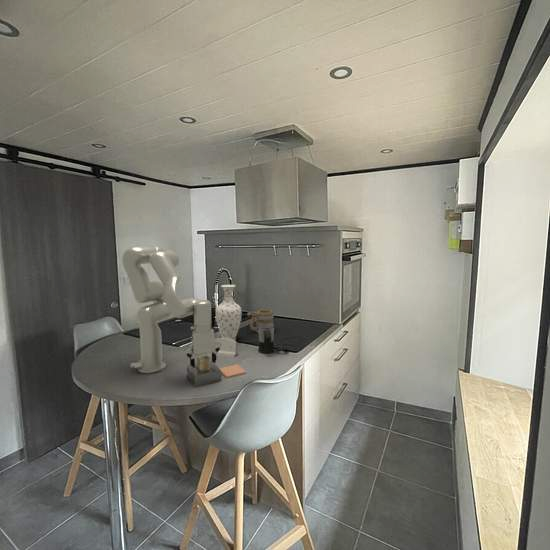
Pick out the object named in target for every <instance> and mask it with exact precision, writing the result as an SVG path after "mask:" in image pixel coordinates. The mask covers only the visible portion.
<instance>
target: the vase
mask: <svg viewBox="0 0 550 550" xmlns="http://www.w3.org/2000/svg"><path fill="white" fill-rule="evenodd" d="M220 287H221V288H222V289H223V293H224V295H223V301H222V302H221V303H220V304H219V305H217V306H216V308H215V320H216V321H215V322H216V325H217V327H218V331H219V334H220V336H221V337H220V338H229V339H232V340H235V341H236V339H237V335H238V332H239V329H240V325H241V322H242V307H241V306H240V304H238V303H236V302H235V300H234V297H233V296H234V295H233V293H234V288H235V287H236V285H235V284H222V285H221V286H220Z"/></svg>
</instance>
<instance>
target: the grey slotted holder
mask: <svg viewBox="0 0 550 550" xmlns="http://www.w3.org/2000/svg"><path fill="white" fill-rule="evenodd" d="M186 377H187V379H188V378H189V379H188V381H189V382H190V383H191V382H192V383H191V384H192V385H193V387H194V388H197V387H198V386H199V387H203V386H206V385H210V384H213V383H218V382H221V381H222V373H221V370H220V369H219V366H218V365H217V364H216V363H213V362H212V360H210V370H206V371H202V372H199V371H198V370H197V363H195V368H193V367H192V366H191V365H187V366H186Z"/></svg>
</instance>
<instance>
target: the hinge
mask: <svg viewBox="0 0 550 550" xmlns="http://www.w3.org/2000/svg"><path fill="white" fill-rule="evenodd" d="M215 341H216V342H219V343H221V344H222V345H221V348H220V350H219V351H218V352H217V354H216V357H224V358H225V357H226V358H232V359H234V358H235V357H236V356H238V354H239V352H238V347H239V344H238V342H237V341H236V340H232V339H229V338H222V337H215ZM215 345H216V344H215ZM217 346H218V345H216V347H217ZM212 353H213V352H211V353H206V355H207V356H212Z"/></svg>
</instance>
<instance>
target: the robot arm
mask: <svg viewBox="0 0 550 550" xmlns="http://www.w3.org/2000/svg"><path fill="white" fill-rule="evenodd" d="M121 261H122V266H123V269H124V271H125V272H126V275H127V277H128V280H129V284H130V287H131V290H132V294H133V297H134V300H135V301H136V303H138V304H146V303H150V304H146V305H143V306H141V308H140V309H138V311H137V313H136V320H137V323H138V326H139V339H140V359H139V361H137V362H131V363H130V368H134V369H137V370H138V372H139V373H142V374H154V373H158V372H161V371H163V370H164V369H165V368H166V367H167V364H166V362H164V361H163V348H162V347H163V346H162V341H163V340H162V330H161V328H160V327H159V324H158V323H161V322H163V321H166V320H169V319H170V317H171V316H173V317H175V318H177V319H183V318H186V317H188V316H192V315H193V321H194V322H193V326H190V330H191V331H192V334H191V343H190V345H188V346H187V347H186V348H184V349H183V353H184V354H185V355H186V356H187V357H188V358H189V360H190V361H189V364H190V365H189V366H192V367H193V368H195V364H196V360H195V357H196V356H202V355H205V354H206V355H207V353H211V352H213V353H212V355H211V361H212V362H213V363H214V364H216V361H217V356H216V354H217V352H218V351H219V350H220V348H221V345H222V344H221V343H219V342H216V341H215V338H216V337H215V332H214V329H213V328H212V303H211V301H210V300H207V299H198V298H196V297H189V298H186V299H180V298H179V295H178V294H177V292H176V285H177V284H178V283H179V282H180V281H181V278H182V277H181V275H180V273H179V272H178V270H177V269H176V268H177V266H178V265H179V263H180V258H179V256H178V254H177V253H176V252H175V251H173V250H170V249H167V248H164V247H159V246H155V245H147V246H146V245H143V246H142V245H141V246H140V245H138V246H132V247H129V248H127V249H126V250H125V251H124V252H123V255H122V259H121ZM146 264H147V265H148V264H150V265H151V268H152V269H153V271H154V272H155V274H156V275H157V277H158V279H159V280H160V281H156V280H155V281H151V280H150V278H149V275H148V273H147V271H146V269H145V268H144V267H143V266H142V265H146ZM151 303H152V304H151ZM215 344H216V345H218V346H217V347H216V345H215ZM189 351H191V352H190V353H189Z"/></svg>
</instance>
